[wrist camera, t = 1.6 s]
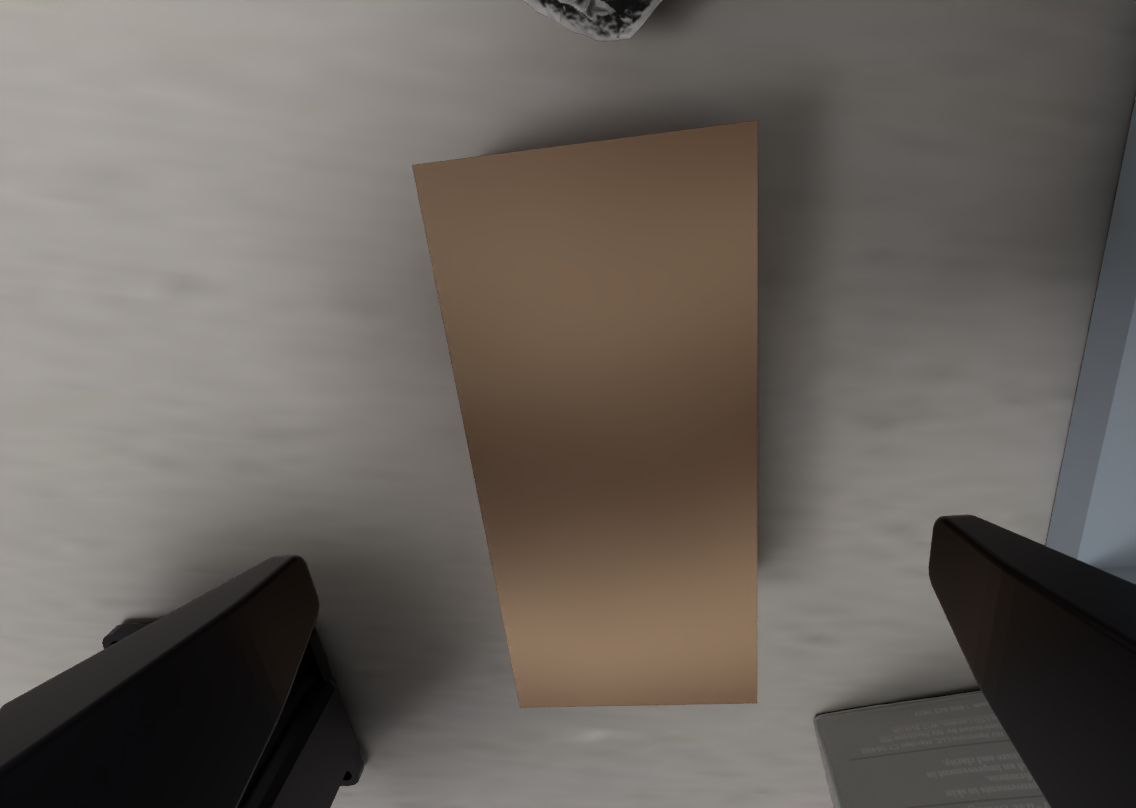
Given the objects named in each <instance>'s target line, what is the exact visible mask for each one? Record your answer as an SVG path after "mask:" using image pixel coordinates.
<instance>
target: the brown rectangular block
mask: <svg viewBox="0 0 1136 808" xmlns="http://www.w3.org/2000/svg"><path fill="white" fill-rule="evenodd" d="M412 167H413V172H414V177H415V182H416V187H417V192H418V197H419V202H420V207H421V212H422V217H423V222H424V227H425V232H426V237H427V242H428V247H429V252H430V257H431V262H432V267H433V273H434V278H435V283H436V288H437V293H438V298H439V303H440V308H441V313H442V318H443V323H444V328H445V333H446V338H447V343H448V348H449V353H450V358H451V363H452V368H453V373H454V378H455V383H456V388H457V393H458V398H459V403H460V408H461V413H462V418H463V423H464V428H465V433H466V438H467V443H468V448H469V453H470V458H471V463H472V468H473V473H474V478H475V483H476V488H477V493H478V498H479V503H480V508H481V513H482V518H483V523H484V528H485V533H486V538H487V543H488V548H489V554H490V559H491V564H492V569H493V574H494V579H495V584H496V589H497V594H498V599H499V604H500V609H501V614H502V619H503V624H504V629H505V634H506V639H507V644H508V649H509V654H510V659H511V664H512V669H513V674H514V679H515V684H516V689H517V694H518V699H519V704H520V707H575V706H631V705H686V704H742V703H757V411H758V120H756V121H749V122H741V123H733V124H726V125H718V126H710V127H702V128H695V129H687V130H679V131H671V132H664V133H656V134H648V135H641V136H633V137H625V138H617V139H610V140H602V141H594V142H586V143H579V144H571V145H563V146H556V147H548V148H540V149H532V150H525V151H517V152H509V153H501V154H494V155H486V156H478V157H471V158H463V159H455V160H447V161H440V162H432V163H424V164H416V165H412Z"/></svg>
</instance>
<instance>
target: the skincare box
mask: <svg viewBox="0 0 1136 808" xmlns="http://www.w3.org/2000/svg"><path fill="white" fill-rule="evenodd" d="M814 726H815V730H816V735H817V739H818V744H819V748H820V752H821V756H822V761H823V765H824V769H825V773H826V777H827V782H828V786H829V790H830V794H831V798H832V802H833V806H834V808H1051V807H1050V806H1049V804H1048V802H1047V801H1046V799H1045V797H1044V796H1043V794H1042V792H1041V791H1040V789H1039V787H1038V786H1037V784H1036V782H1035V781H1034V779H1033V777H1032V776H1031V774H1030V772H1029V771H1028V769H1027V767H1026V766H1025V764H1024V762H1023V761H1022V759H1021V757H1020V756H1019V754H1018V752H1017V751H1016V749H1015V747H1014V746H1013V744H1012V742H1011V741H1010V739H1009V737H1008V736H1007V734H1006V732H1005V731H1004V729H1003V727H1002V726H1001V724H1000V722H999V721H998V719H997V717H996V716H995V714H994V712H993V711H992V709H991V707H990V705H989V704H988V702H987V700H986V698H985V697H984V695H983V693H982V691H976V692H969V693H963V694H956V695H949V696H942V697H935V698H928V699H920V700H912V701H904V702H897V703H891V704H884V705H875V706H869V707H863V708H857V709H850V710H844V711H840V712H833V713H828V714H822V715H818V716H817V717H815V719H814Z"/></svg>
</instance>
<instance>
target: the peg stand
mask: <svg viewBox="0 0 1136 808" xmlns="http://www.w3.org/2000/svg"><path fill="white" fill-rule="evenodd" d="M1046 546H1047V547H1049V548H1052V549H1054V550H1056V551H1059V552H1061V553H1063V554H1066V555H1068V556H1070V557H1073V558H1075V559H1078V560H1080V561H1082V562H1085V563H1087V564H1089V565H1092V566H1094V567H1096V568H1099V569H1101V570H1103V571H1106V572H1108V573H1111V574H1113V575H1115V576H1118V577H1120V578H1122V579H1125V580H1127V581H1129V582H1132V583H1134V584H1136V97H1135V102H1134V107H1133V112H1132V117H1131V122H1130V127H1129V132H1128V137H1127V142H1126V147H1125V152H1124V157H1123V162H1122V167H1121V172H1120V177H1119V182H1118V187H1117V192H1116V197H1115V202H1114V207H1113V212H1112V217H1111V222H1110V227H1109V232H1108V237H1107V242H1106V247H1105V252H1104V257H1103V262H1102V267H1101V272H1100V277H1099V282H1098V287H1097V292H1096V297H1095V302H1094V307H1093V312H1092V317H1091V322H1090V327H1089V332H1088V337H1087V342H1086V347H1085V352H1084V357H1083V362H1082V367H1081V372H1080V377H1079V382H1078V387H1077V392H1076V397H1075V402H1074V407H1073V412H1072V417H1071V422H1070V427H1069V432H1068V437H1067V442H1066V447H1065V452H1064V457H1063V462H1062V467H1061V472H1060V477H1059V482H1058V487H1057V492H1056V496H1055V501H1054V506H1053V511H1052V516H1051V521H1050V526H1049V531H1048V536H1047V541H1046Z"/></svg>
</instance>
